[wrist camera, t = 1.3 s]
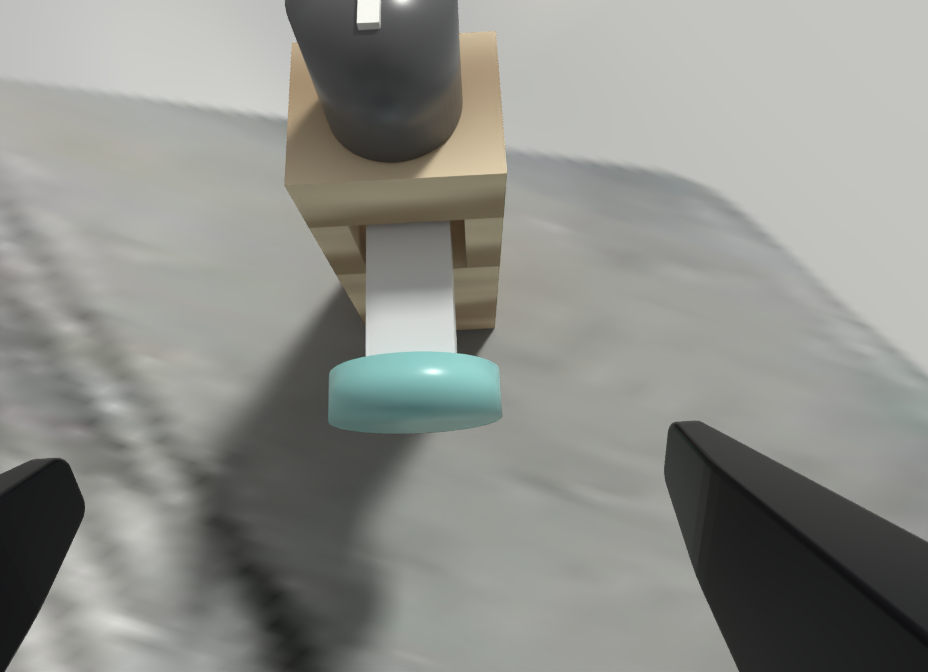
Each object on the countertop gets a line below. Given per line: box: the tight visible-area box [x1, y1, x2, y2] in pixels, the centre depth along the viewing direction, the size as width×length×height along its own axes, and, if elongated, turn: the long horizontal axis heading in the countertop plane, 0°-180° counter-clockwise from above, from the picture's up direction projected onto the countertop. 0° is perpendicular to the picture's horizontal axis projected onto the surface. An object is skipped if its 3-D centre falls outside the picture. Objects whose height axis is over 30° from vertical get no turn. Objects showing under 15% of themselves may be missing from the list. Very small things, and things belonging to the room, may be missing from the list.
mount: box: [284, 31, 507, 330], centre depth 19 cm, size 4×5×11 cm
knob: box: [328, 220, 502, 434], centre depth 16 cm, size 6×4×4 cm
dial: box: [285, 0, 463, 162], centre depth 12 cm, size 3×3×3 cm
